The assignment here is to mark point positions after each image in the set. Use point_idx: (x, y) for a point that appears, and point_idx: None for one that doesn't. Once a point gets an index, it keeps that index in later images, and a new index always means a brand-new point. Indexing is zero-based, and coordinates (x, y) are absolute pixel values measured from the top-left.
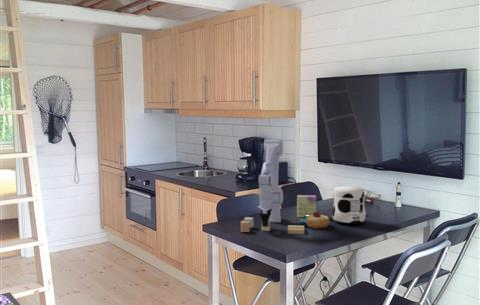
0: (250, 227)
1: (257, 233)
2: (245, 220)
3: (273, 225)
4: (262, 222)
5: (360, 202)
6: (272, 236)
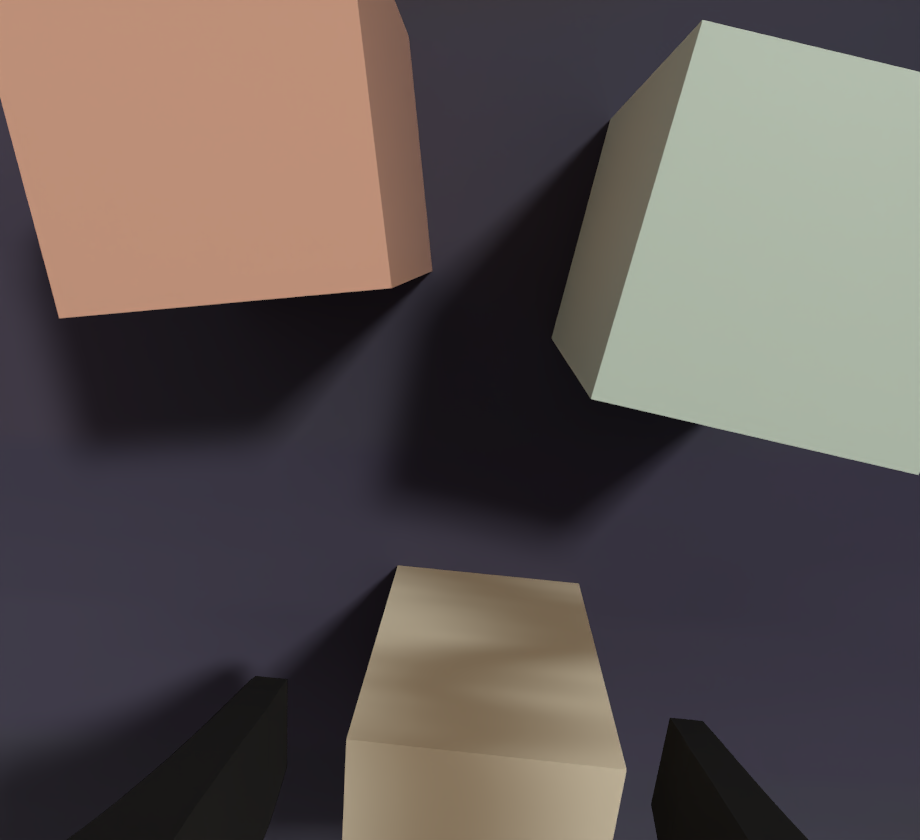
0: (561, 318)
1: (176, 475)
2: (659, 131)
3: (833, 811)
4: (175, 755)
5: None
6: (12, 736)
